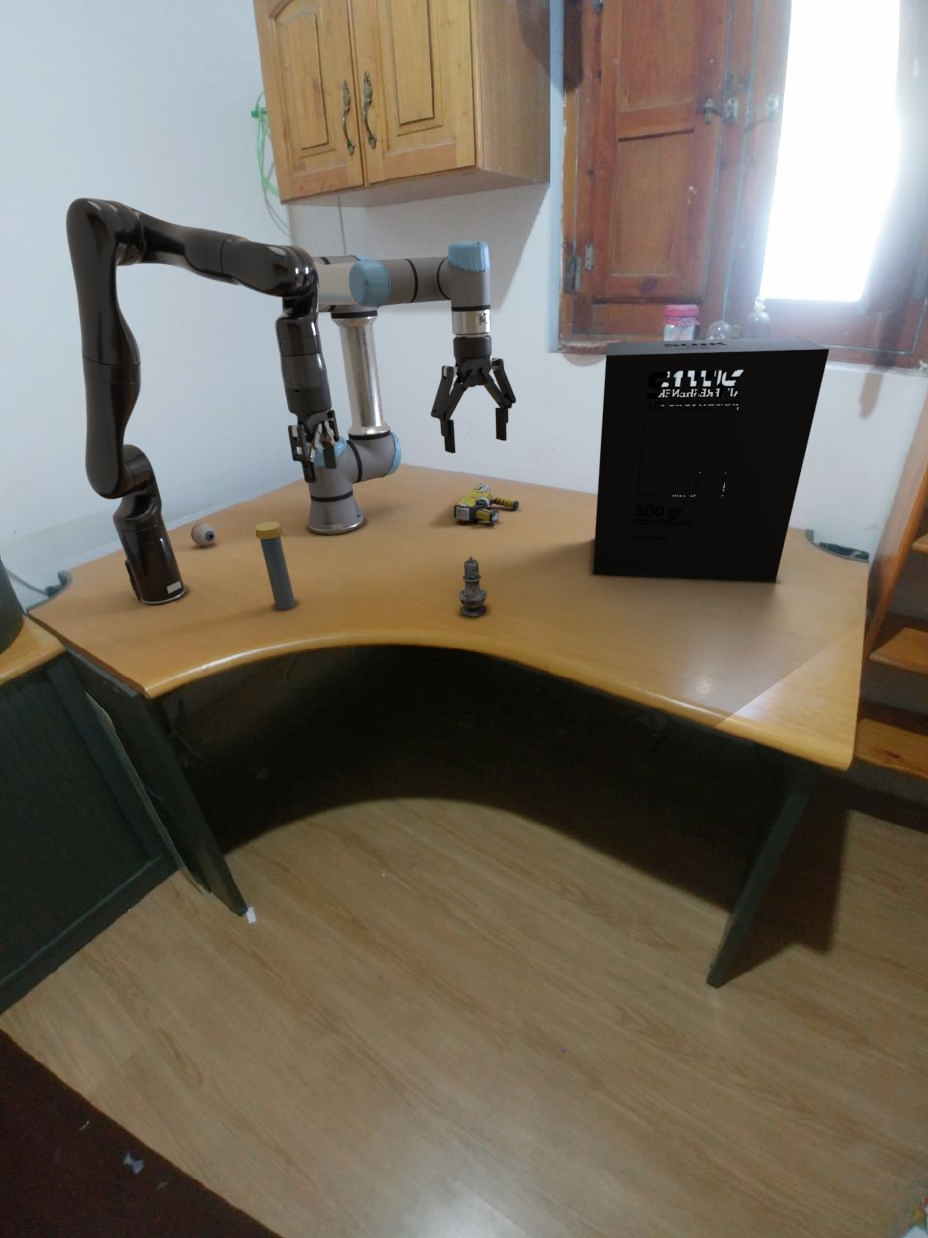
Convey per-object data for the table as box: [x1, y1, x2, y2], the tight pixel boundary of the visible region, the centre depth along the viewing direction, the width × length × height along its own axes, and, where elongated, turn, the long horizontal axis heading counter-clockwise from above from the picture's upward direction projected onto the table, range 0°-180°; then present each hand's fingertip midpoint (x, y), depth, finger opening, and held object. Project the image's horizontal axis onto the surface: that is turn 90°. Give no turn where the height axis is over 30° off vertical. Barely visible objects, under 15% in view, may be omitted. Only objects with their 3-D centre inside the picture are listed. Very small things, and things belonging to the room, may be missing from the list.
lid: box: [254, 521, 283, 540], centre depth 121 cm, size 5×5×2 cm
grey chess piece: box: [457, 555, 488, 617], centre depth 120 cm, size 6×6×12 cm
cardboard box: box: [592, 336, 830, 583], centre depth 128 cm, size 38×20×45 cm, turn 78°
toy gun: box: [452, 482, 520, 526], centre depth 172 cm, size 5×24×15 cm
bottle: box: [259, 535, 296, 611], centre depth 125 cm, size 4×4×18 cm
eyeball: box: [190, 522, 217, 547], centre depth 160 cm, size 6×6×6 cm
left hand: (321, 475), depth 111 cm, fingers open, 8 cm apart
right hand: (476, 445), depth 127 cm, fingers open, 13 cm apart
